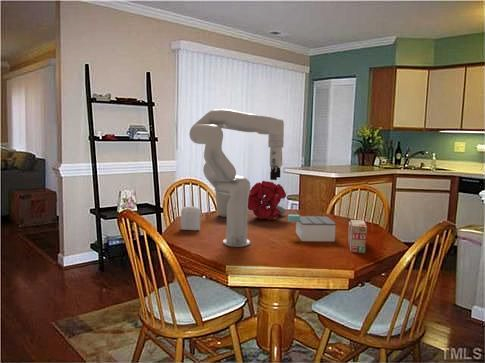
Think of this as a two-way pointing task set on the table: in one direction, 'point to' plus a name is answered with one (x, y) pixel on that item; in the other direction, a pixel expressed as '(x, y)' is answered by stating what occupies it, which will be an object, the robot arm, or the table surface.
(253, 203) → the bouquet
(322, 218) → the lid
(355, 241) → the printed milk carton
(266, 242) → the table surface
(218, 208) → the canister
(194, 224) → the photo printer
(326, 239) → the tub
